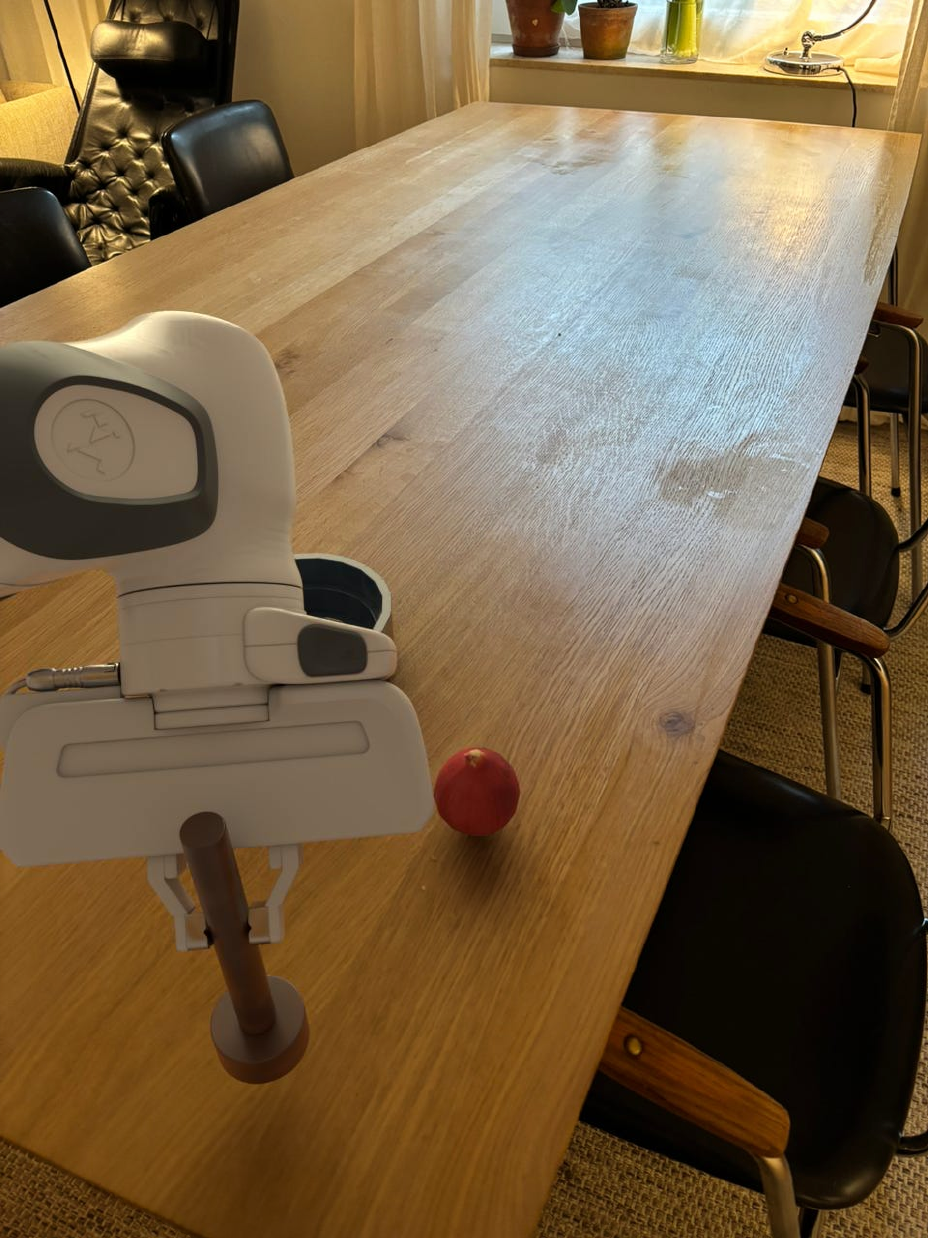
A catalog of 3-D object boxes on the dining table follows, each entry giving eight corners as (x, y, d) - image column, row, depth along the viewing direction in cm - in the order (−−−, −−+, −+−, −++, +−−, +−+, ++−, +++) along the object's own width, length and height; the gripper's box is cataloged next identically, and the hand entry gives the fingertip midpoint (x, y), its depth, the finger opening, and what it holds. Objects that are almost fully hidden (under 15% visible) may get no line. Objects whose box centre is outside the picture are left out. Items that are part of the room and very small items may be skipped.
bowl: (239, 747, 76) (225, 691, 72) (207, 630, 87) (194, 576, 83) (419, 697, 80) (415, 641, 76) (368, 591, 90) (362, 537, 86)
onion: (463, 782, 73) (461, 706, 68) (533, 813, 71) (536, 737, 65) (421, 838, 69) (415, 762, 64) (492, 873, 67) (492, 797, 62)
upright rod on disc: (226, 1099, 52) (150, 893, 40) (210, 1014, 55) (136, 803, 44) (319, 1065, 53) (272, 856, 41) (297, 984, 57) (248, 771, 45)
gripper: (-33, 669, 44) (-21, 985, 43) (422, 635, 46) (445, 940, 45) (21, 673, 51) (33, 949, 50) (420, 643, 52) (440, 911, 51)
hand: (232, 945), depth 47 cm, fingers closed on upright rod on disc
